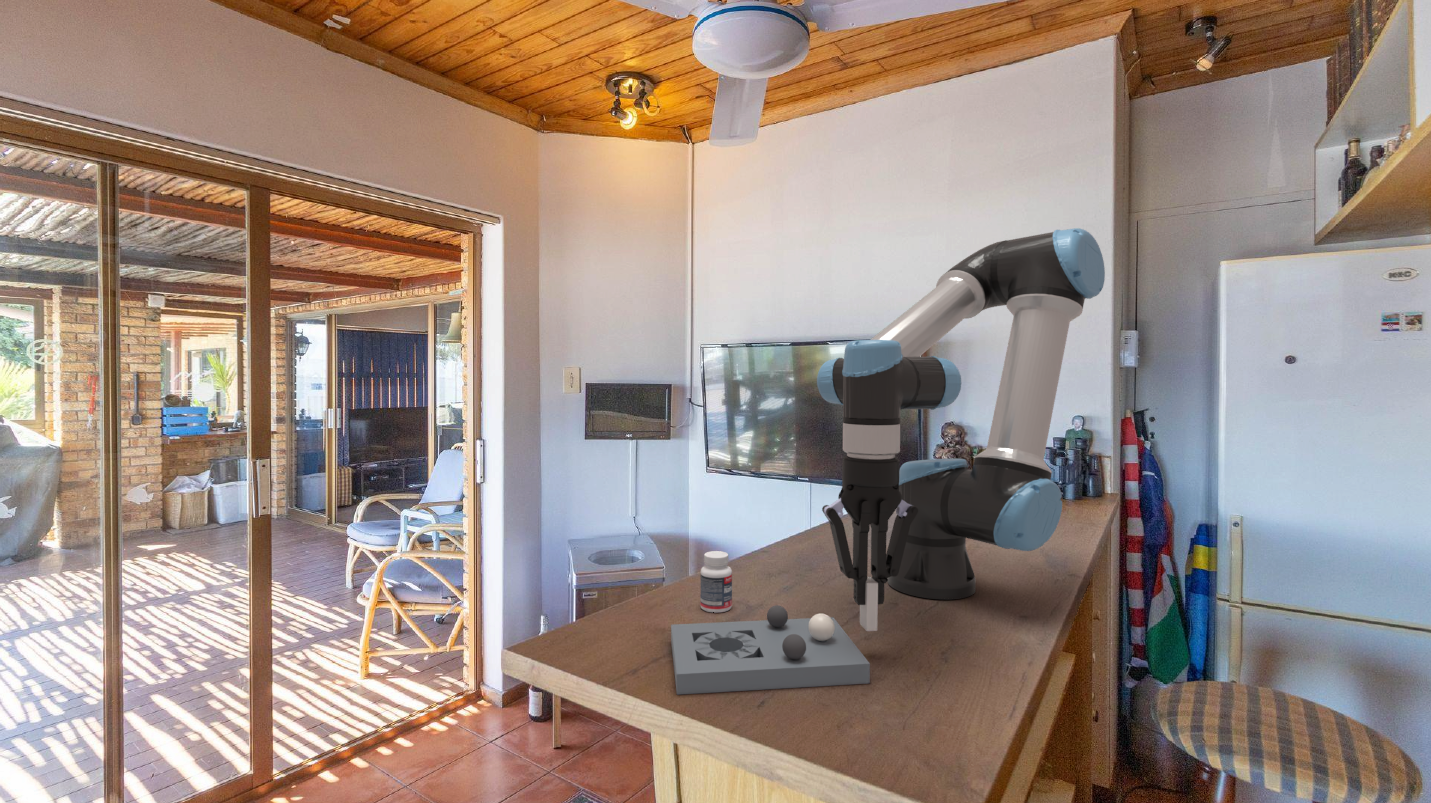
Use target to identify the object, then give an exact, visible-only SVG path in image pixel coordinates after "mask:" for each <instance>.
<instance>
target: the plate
mask: <svg viewBox="0 0 1431 803" xmlns="http://www.w3.org/2000/svg"><path fill="white" fill-rule="evenodd" d="M829 617H830V618H831V619H832V620H833V622H834V626H835V630H834V634H833V635H832V637H831V638H830V639H828V640H826V641H819V640H816V639H815V638H813V637H812V635H811V634H810V632H809V627H808V626H809V621H810V619H811V618H812V617H810V618H806V617H805V618H788V620H787V622H786V624H785V625H784V626H782V627H779V628H776V627H773V626H772V625H770V624H769V622H768V620H767V619H766V620H765V619H764V620H763V619H761V620H744V621H743V620H742V621H740V620H739V621H724V622H723V621H720V622H702V623H701V622H699V623H680V624H679V623H678V624H677V623H676V624H670V629H671V630H670V642H671V652H672V661H673V672H674V682H675V691H676V695H691V694H693V695H695V694H709V693H710V694H712V693H727V692H745V691H758V690H759V691H760V690H762V691H763V690H777V689H778V690H779V689H780V690H781V689H795V688H796V689H797V688H812V687H828V686H829V687H830V686H831V687H832V686H845V685H847V686H848V685H849V686H850V685H860V684H861V685H863V684H865V685H866V684H870V683H871V682H870V681H871V680H870V678H871V674H870V671H871V663H870V661H868V659H867V658H866V657H865V656H864V654H863V653H862V652H861V650H860V649H859V647H857V645H856V644H855V643H854V642H853V640H852V639H851V638H850V636H849V635H848V634H847V633H846V631H845V630H844V629H843V628H842V626H841V625H840V624H839V622H838V621H837V620H836V619H835V618H834V616H832V617H831V616H829ZM791 634H797V635H799V636H801V637H802V638H803V639H804V641H805V643H806V652H805V654H804V655H803V656H802V657H801V658H799V659H795V660H794V659H790V658H788V657H787V656H786V655H785V654H784V652H783V648H782V644H783V641H784V639H785V638H786V637H787V636H788V635H791Z"/></svg>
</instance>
